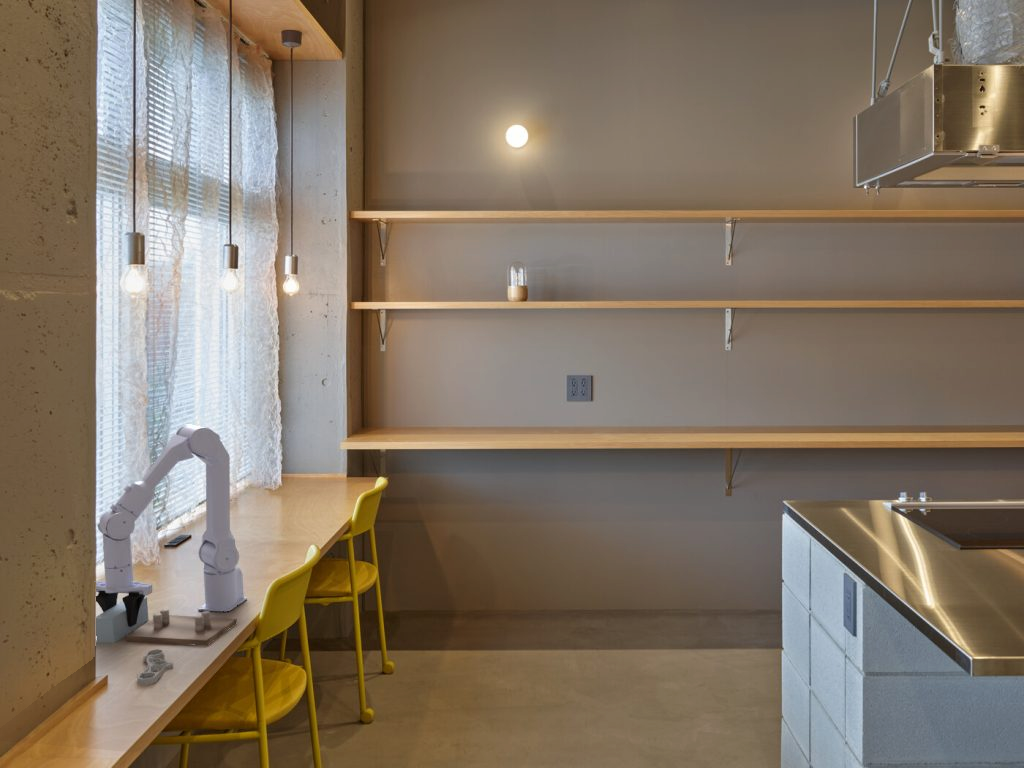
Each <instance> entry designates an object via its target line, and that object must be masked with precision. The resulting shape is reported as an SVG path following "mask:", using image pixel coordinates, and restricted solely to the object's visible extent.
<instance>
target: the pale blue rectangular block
mask: <svg viewBox="0 0 1024 768" xmlns="http://www.w3.org/2000/svg"><path fill="white" fill-rule="evenodd" d="M95 617H96V636H97V643H98V644H115V643H117V642H118V641H119V640H121V639H123V638H124V637H126V635H128V634H129V633H131V632H133V631H134V630H136V629H138V628H139V627H141V626H142V625H144V624H146V623H147V622H149V608H148V596H145V597H144V599H143V601H142V604H141V606H140V609H139V613H138V618H137V624H135V625H134V626H132V627H129V626H128V622H127V612H126V608H125V605H124V602H123V600H122V601H120V602H117V605H115V606H113V607H112V608H110V609H108V610H107V611H105V612H103V611H102V613H100V614H99V615H97V616H95ZM97 643H96V644H97Z"/></svg>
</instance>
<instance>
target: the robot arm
mask: <svg viewBox="0 0 1024 768" xmlns="http://www.w3.org/2000/svg"><path fill="white" fill-rule="evenodd" d="M195 456H196V458H198V459H199V460H201V461H202V462H203V463H204V464H205V485H206V486H205V497H206V498H205V502H206V503H205V506H206V507H205V508H206V511H205V512H206V514H205V515H206V518H205V520H206V521H205V522H206V523H205V525H206V529H205V530H204V532H203V534H202V537H201V538H202V540H201V544H200V546H199V548H198V557H199V559H200V561H201V562H202V563H203V569H202V570H203V582H204V584H203V585H204V602H205V603H204V604H202V605H201V606H199V607H198V608H197V610H198V611H202V612H205V611H209V612H223V611H224V612H227V611H229V612H231V611H232V610H234V609H235V608H237V607H238V606H239V605H241V604H243V603H244V602H245V601H247V599H248V596H244V595H245V594H244V583H243V582H244V578H243V575H244V574H243V571H242V569H241V568H240V566H238V564H239V560H240V554H239V551H238V548H237V547H236V539H235V536H234V535H233V533H232V531H231V527H230V526H231V521H230V520H231V507H230V506H231V505H230V504H231V503H230V502H231V500H230V499H231V495H230V493H231V489H230V485H231V482H230V481H231V480H230V479H231V478H230V477H231V476H230V474H231V473H230V472H231V471H230V464H231V463H230V454H229V452H228V451H227V449H226V447H225V445H224V444H223V442H222V441H221V436H220V434H218V433H217V432H215V431H214V430H212V429H211V428H209V427H202V426H199V425H195V424H192V423H188V424H184V425H181V426H180V427H179V428H178V430H177V431H176V432H175V433H174V434H173V435H172V436H171V437H170V438H169V440H168V442H167V444H166V445H165V447H164V448H163V450H162V452H161V453H160V454H159V456H158V457H157V458H156V460H155V461H154V462H153V464H152V465H151V467H150V468H149V469H148V471H147V472H146V474H144V476H143V478H142V479H141V480H139V481H133V482H131V484H130V485H128V484H127V485H126V486H125V487H124V489H123V491H124V493H123V494H122V495H121V496H120V498H119V499H118V500H117V502H115V504H111V505H110V507H109V509H110V510H108V511H106V512H104V513H103V514H102V515H101V516H100V518H99V523H97V529H98V530H99V532H100V534H102V544H103V545H102V549H103V551H102V553H103V564H104V580H105V581H95V582H96V592H95V593H97V595H96V596H95V597H96V601H95V602H96V603H97V604H98V605H99V607H100V608H101V610H102V613H103V612H105V611H107V610H108V609H110V608H112V607H113V606H115V605H117V604H118V595H119V594H127V595H125V596H123V597H122V598H121V599H122V601H123V602H124V605H125V608H126V612H127V622H128V626H129V627H132V626H134V625H135V624H137V618H138V613H139V609H140V606H141V604H142V601H143V599H144V597H146V596H149V595H151V594H152V593H153V584H151V583H145V582H140V581H136V580H135V579H134V568H133V567H134V566H133V565H134V564H133V551H132V542H131V541H132V540H131V534H133V532H134V530H135V526H136V525H135V524H136V523H135V522H136V521H137V520H138V518H139V517H140V516H141V515H142V513H144V511H145V510H146V509H147V508H148V506H149V505H150V504H151V502H152V501H153V500H154V498H155V489H156V488H157V487H158V485H159V484H160V483H161V481H162V480H164V479H165V478H166V476H167V475H168V474H169V473H170V472H171V471H172V469H173V468H174V467H175V466H176V465H177V464H178V463H179V462H182V461H185V460H190V459H193V458H194V457H195ZM134 580H135V581H134ZM237 605H238V606H237Z"/></svg>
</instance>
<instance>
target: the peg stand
mask: <svg viewBox="0 0 1024 768" xmlns="http://www.w3.org/2000/svg"><path fill="white" fill-rule="evenodd" d="M236 623H238V620H237V618H233V617H232V618H229V617H212V616H211V611H202V612H201V615H197V616H193V615H191V616H190V615H173V614H170V609H168V608H165V609H160V613H154V614H153V615H152V619H150V620H148V621H146V622H145V623H143V624H142V625H140V626H139V627H137V628H136V629H134V630H133V631H131V632H130V633H128V634H127V635H125V641H126V642H133V643H134V642H137V643H150V644H151V643H152V644H168V645H169V644H170V645H171V644H172V645H183V644H195V645H194V646H200V645H207V646H209V645H210V644H212V643H213V642H214V641H216V640H217V639H219V638H220V637H221V636H222V635H224V634H225V633H227V632H228V631H229V630H230V629H229V628H231V627H232V626H233V625H235V624H236ZM236 625H237V624H236ZM236 625H235V626H236ZM233 627H234V626H233ZM233 627H232V628H233ZM232 628H231V629H232ZM228 629H229V630H228ZM227 630H228V631H227ZM223 633H224V634H223ZM220 635H221V636H220ZM219 636H220V637H219ZM216 638H217V639H216ZM215 639H216V640H215ZM213 640H214V641H213ZM212 641H213V642H212ZM209 643H210V644H209ZM208 644H209V645H208Z"/></svg>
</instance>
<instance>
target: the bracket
mask: <svg viewBox="0 0 1024 768" xmlns="http://www.w3.org/2000/svg"><path fill="white" fill-rule="evenodd" d="M143 662H144V663H146V664H147V666H146V668H145V669H144V670H143V671H142V672H141V673H138V674H136V677H137V684H138V685H139V686H142V687H144V686H150V685H154V684H155V683H157V681H158V680H159V679H160V678H161V676H162V675H164V673H165V671H167V670H171V669H173V667H174V661H171V662H167V660H166V654H165V651H164V649H160V648H154V649H150V650H148V651H147V652H146V653H145V654H144V655H143Z"/></svg>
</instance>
